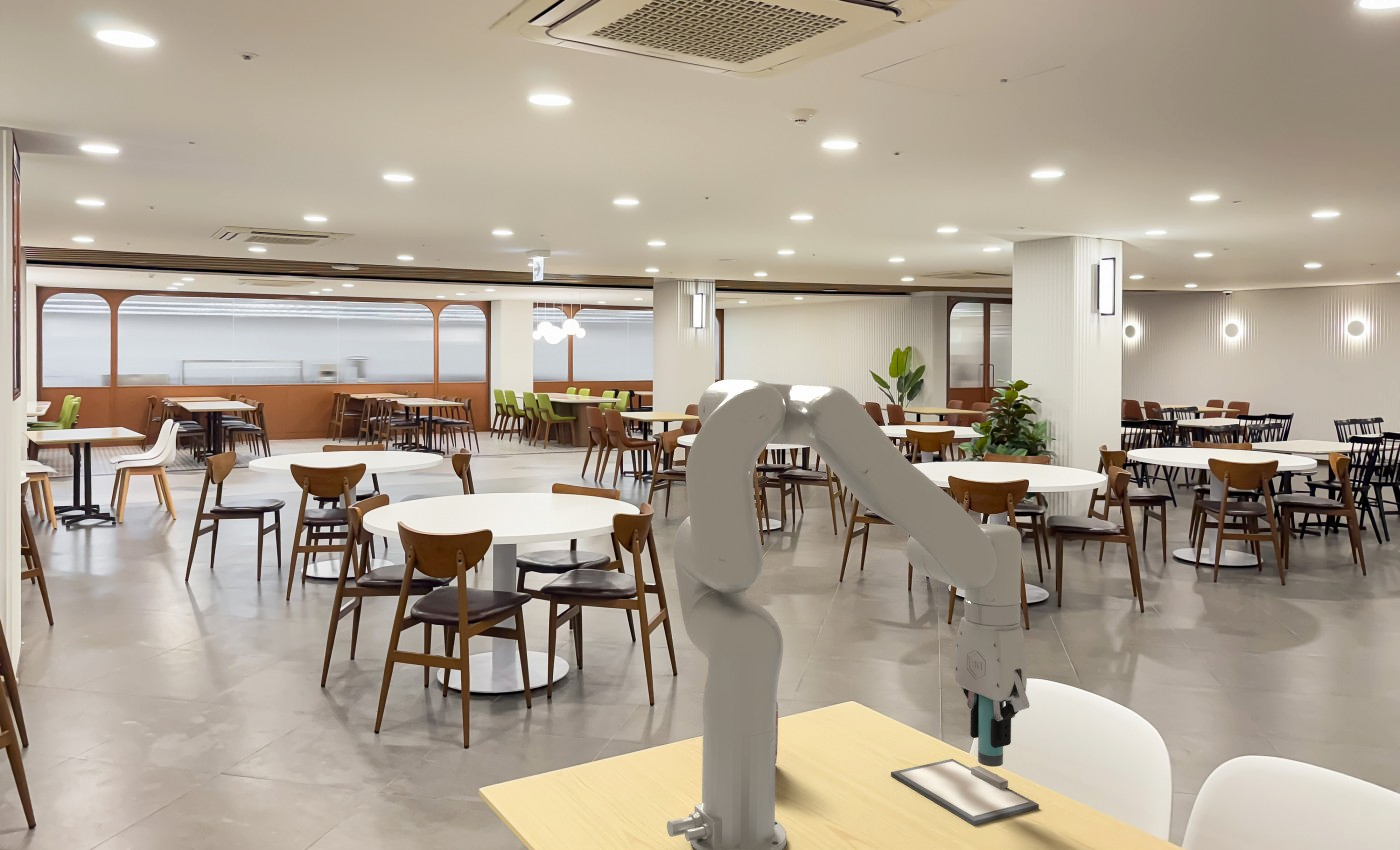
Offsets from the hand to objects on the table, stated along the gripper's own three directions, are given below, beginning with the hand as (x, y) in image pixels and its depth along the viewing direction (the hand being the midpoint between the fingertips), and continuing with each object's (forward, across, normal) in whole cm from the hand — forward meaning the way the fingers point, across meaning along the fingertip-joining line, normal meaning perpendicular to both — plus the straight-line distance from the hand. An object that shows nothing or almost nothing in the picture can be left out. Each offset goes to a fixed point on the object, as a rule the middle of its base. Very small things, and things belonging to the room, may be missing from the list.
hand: (990, 739), depth 139 cm
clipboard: (+9, -5, 0) cm, 11 cm away
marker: (+3, 0, 0) cm, 3 cm away
